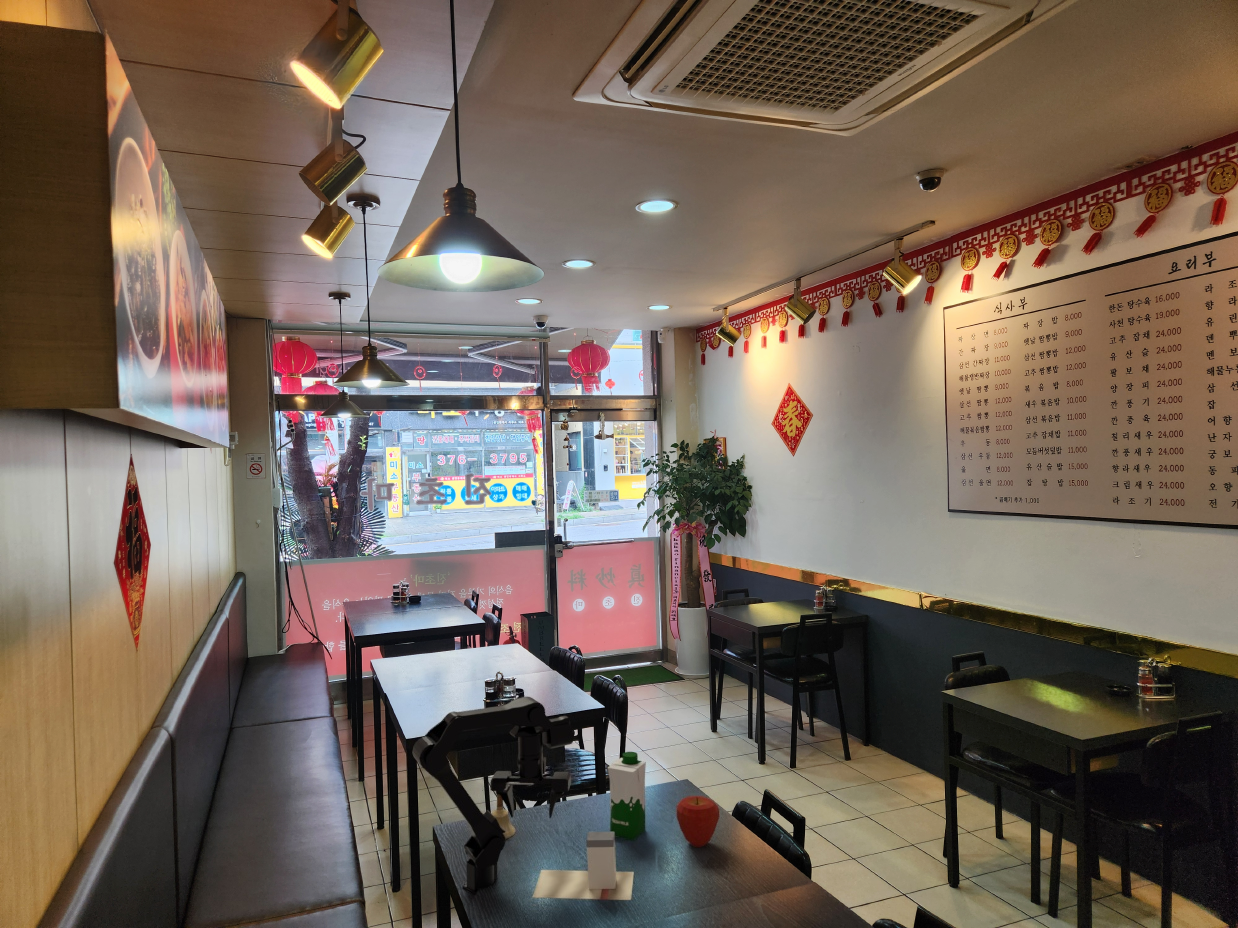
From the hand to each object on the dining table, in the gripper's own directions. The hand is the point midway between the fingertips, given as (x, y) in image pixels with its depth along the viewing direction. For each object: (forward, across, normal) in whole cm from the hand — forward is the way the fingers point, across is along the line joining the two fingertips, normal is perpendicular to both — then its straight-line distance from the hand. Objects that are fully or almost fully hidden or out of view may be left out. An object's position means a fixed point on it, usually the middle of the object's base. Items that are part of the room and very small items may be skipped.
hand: (531, 816), depth 185 cm
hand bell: (+13, +12, -20) cm, 27 cm away
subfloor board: (+13, -13, +7) cm, 20 cm away
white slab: (+12, -18, +7) cm, 22 cm away
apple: (+13, -40, -16) cm, 45 cm away
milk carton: (+13, -22, -21) cm, 33 cm away
